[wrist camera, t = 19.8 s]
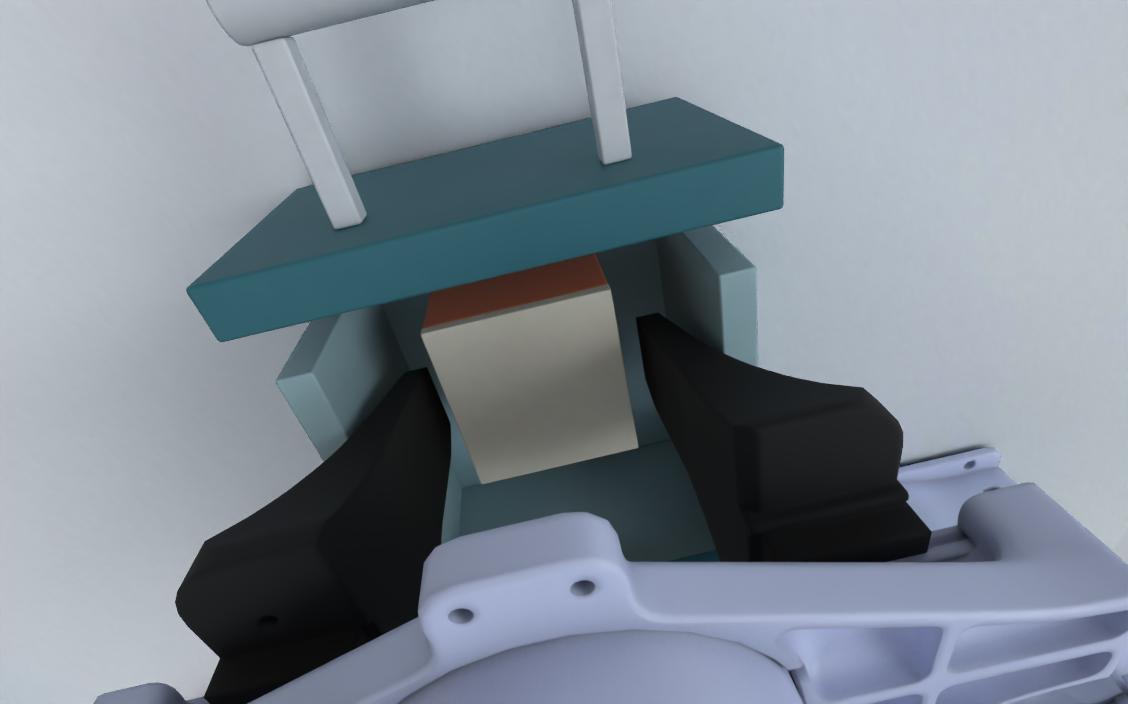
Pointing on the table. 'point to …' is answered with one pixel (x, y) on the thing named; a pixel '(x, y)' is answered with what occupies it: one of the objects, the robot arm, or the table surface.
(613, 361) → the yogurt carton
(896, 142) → the table surface
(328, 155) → the drawer
